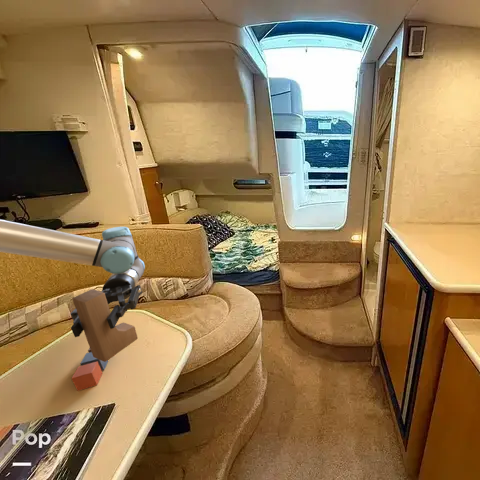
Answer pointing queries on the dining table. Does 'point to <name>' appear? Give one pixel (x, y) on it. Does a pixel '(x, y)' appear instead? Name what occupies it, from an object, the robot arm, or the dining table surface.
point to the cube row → (88, 372)
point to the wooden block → (102, 326)
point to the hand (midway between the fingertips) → (93, 327)
